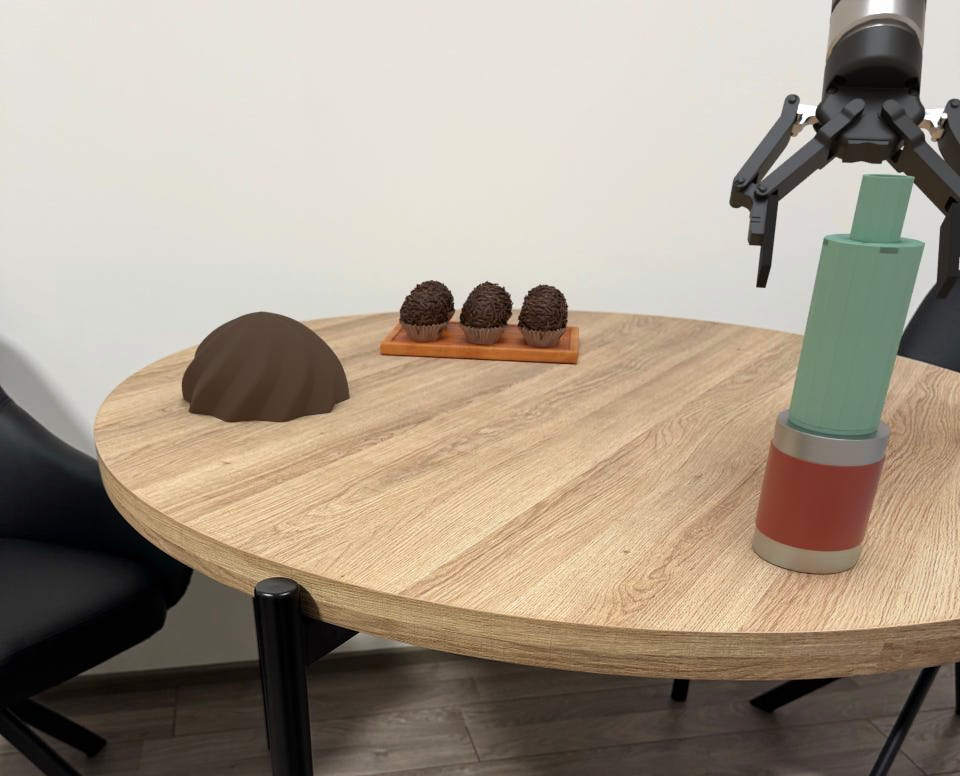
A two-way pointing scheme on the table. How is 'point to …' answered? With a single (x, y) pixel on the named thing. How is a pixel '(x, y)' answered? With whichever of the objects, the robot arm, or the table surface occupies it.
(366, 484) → the table surface
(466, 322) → the chocolate truffle
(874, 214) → the bottle
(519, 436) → the table surface
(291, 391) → the decorative dome
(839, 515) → the can
